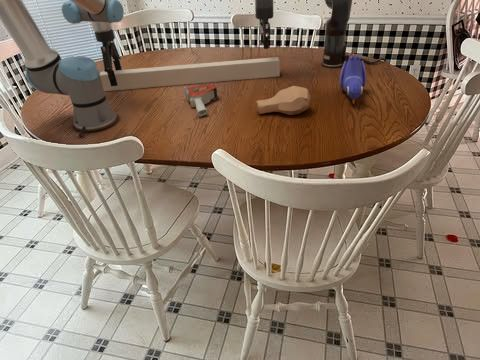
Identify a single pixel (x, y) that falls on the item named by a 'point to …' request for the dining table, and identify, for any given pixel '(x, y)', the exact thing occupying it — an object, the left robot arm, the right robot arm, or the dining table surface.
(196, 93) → the tape dispenser
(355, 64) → the toy
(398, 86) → the dining table surface
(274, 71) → the post
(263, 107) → the squash
